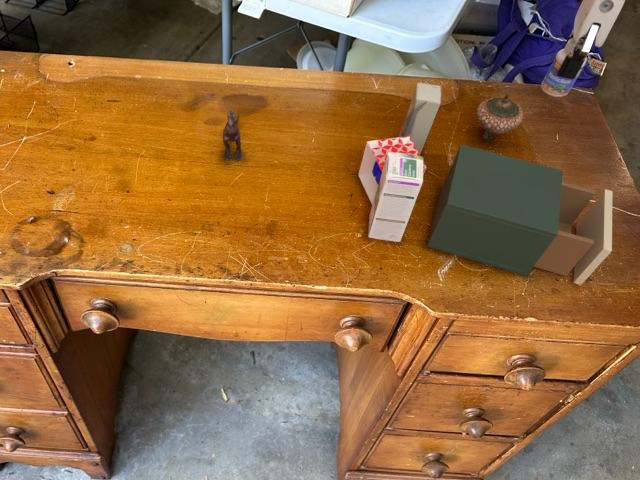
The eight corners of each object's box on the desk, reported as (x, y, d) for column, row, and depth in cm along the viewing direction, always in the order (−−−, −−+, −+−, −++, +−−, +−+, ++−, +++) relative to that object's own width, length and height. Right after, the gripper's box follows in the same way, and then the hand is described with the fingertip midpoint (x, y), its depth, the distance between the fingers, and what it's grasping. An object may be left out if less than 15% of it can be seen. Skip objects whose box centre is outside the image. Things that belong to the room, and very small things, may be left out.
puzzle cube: (413, 199, 103) (426, 166, 96) (372, 205, 102) (382, 172, 95) (397, 169, 107) (409, 135, 101) (358, 174, 106) (367, 140, 99)
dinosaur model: (223, 116, 96) (227, 68, 105) (220, 171, 105) (223, 122, 114) (247, 118, 96) (248, 70, 105) (241, 173, 105) (243, 124, 114)
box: (398, 137, 112) (416, 80, 101) (420, 141, 112) (441, 84, 101) (396, 155, 109) (415, 98, 98) (419, 159, 109) (441, 102, 98)
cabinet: (533, 214, 102) (563, 170, 93) (526, 276, 94) (557, 234, 85) (440, 189, 104) (461, 144, 96) (426, 246, 97) (447, 203, 88)
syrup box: (400, 243, 97) (426, 181, 85) (366, 238, 97) (386, 175, 85) (401, 218, 100) (425, 155, 88) (367, 213, 101) (387, 150, 89)
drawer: (590, 229, 99) (620, 192, 92) (588, 287, 92) (620, 253, 84) (493, 202, 102) (514, 165, 94) (484, 256, 95) (506, 221, 87)
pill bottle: (536, 91, 113) (560, 45, 105) (545, 78, 115) (568, 32, 107) (563, 101, 111) (590, 55, 103) (572, 87, 114) (598, 41, 106)
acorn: (510, 131, 114) (533, 88, 106) (506, 157, 110) (529, 114, 101) (469, 120, 116) (489, 77, 107) (463, 145, 111) (483, 102, 103)
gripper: (644, -2, 89) (585, 98, 104) (641, -49, 98) (587, 48, 113) (594, -11, 90) (542, 88, 105) (596, -57, 100) (548, 40, 115)
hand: (566, 67), depth 109 cm, fingers closed on pill bottle, 5 cm apart
